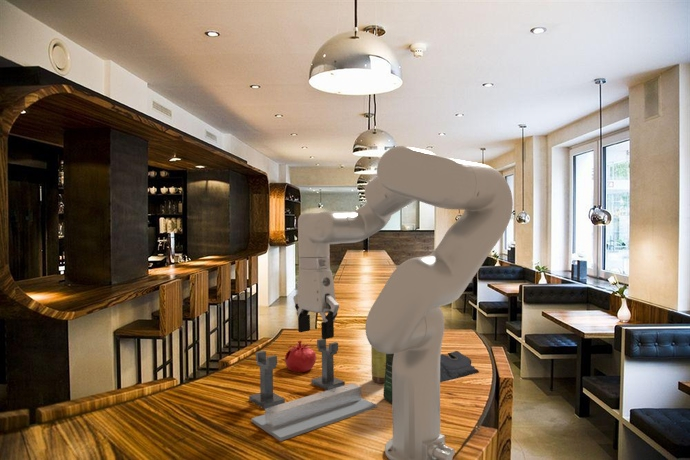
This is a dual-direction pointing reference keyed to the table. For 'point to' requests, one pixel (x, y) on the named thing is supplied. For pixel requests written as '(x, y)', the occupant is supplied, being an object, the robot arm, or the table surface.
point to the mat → (314, 420)
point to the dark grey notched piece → (455, 366)
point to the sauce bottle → (378, 366)
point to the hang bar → (311, 405)
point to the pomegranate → (300, 358)
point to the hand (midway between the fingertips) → (315, 334)
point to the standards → (325, 381)
